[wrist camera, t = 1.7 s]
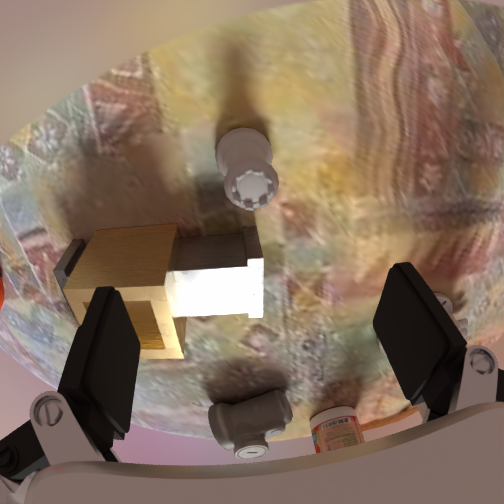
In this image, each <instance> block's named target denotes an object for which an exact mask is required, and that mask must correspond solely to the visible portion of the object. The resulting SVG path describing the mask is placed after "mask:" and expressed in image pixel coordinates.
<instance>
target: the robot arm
mask: <svg viewBox="0 0 504 504" xmlns="http://www.w3.org/2000/svg"><path fill="white" fill-rule="evenodd" d="M452 312H453V306H452V303H451V301H450V300H449V298H448V297H447V296H446V295H444V294H441V293H433V292H432V290H431V289H430V288H429V286H428V285H427V284H426V282H425V281H424V279H423V278H422V277H421V275H420V274H419V273H418V272H417V270H416V269H415V268H414V266H413V265H412V264H411V263H410V262H403V263H396V264H394V265H393V267H392V268H390V270H389V272H388V276H387V279H386V282H385V285H384V289H383V292H382V295H381V298H380V301H379V304H378V307H377V310H376V313H375V316H374V319H373V327H374V330H375V332H376V334H377V336H378V338H377V345H378V347H379V350H380V351H381V353H382V354H383V355H385V356H387V358H388V360H389V362H390V364H391V366H392V369H393V371H394V373H395V375H396V377H397V380H398V382H399V384H400V387H401V389H402V391H403V394H404V396H405V398H406V399H407V400H410V402H411V404H412V406H414V405H417V407H418V409H419V412H420V414H421V416H422V419H423V422H422V424H421V425H418V426H416V427H413V428H410V429H407V430H404V431H401V432H398V433H395V434H392V435H389V436H385V437H382V438H379V439H375V440H372V441H368V442H364V443H361V444H357V445H353V446H349V447H345V448H340V449H336V450H331V451H327V452H322V453H317V454H312V455H306V456H300V457H294V458H287V459H280V460H272V461H264V462H254V463H244V464H231V465H229V464H228V465H205V466H179V465H149V464H147V465H146V464H133V463H122V462H121V460H120V459H119V458H118V456H117V455H116V453H115V452H114V450H113V449H112V446H113V439H117V440H124V436H125V433H128V432H129V429H130V421H131V413H132V405H133V397H134V390H135V383H136V376H137V370H138V363H139V357H140V351H141V345H140V341H139V339H138V336H137V334H136V331H135V329H134V327H133V324H132V322H131V319H130V317H129V314H128V312H127V309H126V307H125V304H124V301H123V299H122V296H121V293H120V291H119V290H115V288H114V287H113V286H103V287H97V288H96V289H95V291H94V294H93V296H92V299H91V301H90V304H89V306H88V309H87V311H86V314H85V317H84V319H83V322H82V325H81V326H79V327H78V329H77V332H76V334H75V337H74V340H73V343H72V346H71V349H70V352H69V354H68V358H67V361H66V364H65V367H64V370H63V373H62V377H61V380H60V383H59V387H58V390H57V392H54V391H47V392H44V393H42V394H40V395H39V396H38V397H36V398H35V400H34V401H33V403H32V405H31V408H30V420H29V421H27V422H26V423H24V424H23V425H22V426H20V427H19V428H17V429H16V430H14V431H13V432H12V433H10V434H9V435H8V436H6V437H5V438H4V439H2V440H0V504H504V370H501V369H499V368H498V362H497V359H496V357H495V355H494V354H493V352H492V351H490V350H489V349H488V348H486V347H484V346H481V345H473V346H471V347H470V348H468V347H467V345H466V344H467V342H466V340H465V339H464V338H466V337H467V329H466V328H465V327H467V325H468V320H467V319H466V318H464V319H460V320H458V321H457V320H455V318H454V317H453V315H452Z"/></svg>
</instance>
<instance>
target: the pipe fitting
mask: <svg viewBox="0 0 504 504" xmlns="http://www.w3.org/2000/svg"><path fill="white" fill-rule="evenodd" d="M292 417H293V414H292V410H291V407H290V404H289V402H288V400H287V398H286V396H285V395H284V393H283V392H281V391H279V390H273V391H270V392H268V393H265V394H262V395H260V396H257V397H255V398H252V399H249V400H247V401H244V402H241V403H238V404H236V405H230V404H227V403H218V404H215V405H212V406H210V408H209V411H208V418H209V424H210V427H211V430H212V433H213V435H214V437H215V439H216V440H217V441H218V443H219V444H220V445H221V446H222V447H223V448H224V449H226V450H232V449H234V455H235V456H236V457H237V458H239V459H246V460H248V459H255V458H259V457H262V456H264V455H265V454H267V452H268V451H269V448H268V444H267V442H266V441H265V440H266V439H269V438H272V437H275V436H278V435H280V434H282V433H283V432H284V430H285V425H286V424H288V423H290V422H291V420H292Z"/></svg>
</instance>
